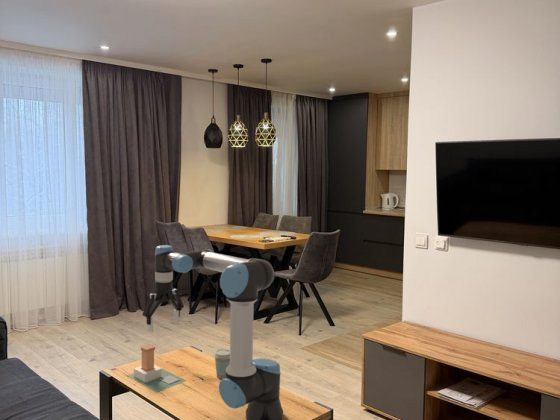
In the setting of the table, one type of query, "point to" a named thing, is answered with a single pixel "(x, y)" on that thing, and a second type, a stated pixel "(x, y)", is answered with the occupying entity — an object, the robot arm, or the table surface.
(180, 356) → the table surface
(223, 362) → the coffee cup
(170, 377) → the peg socket board
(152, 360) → the plug
